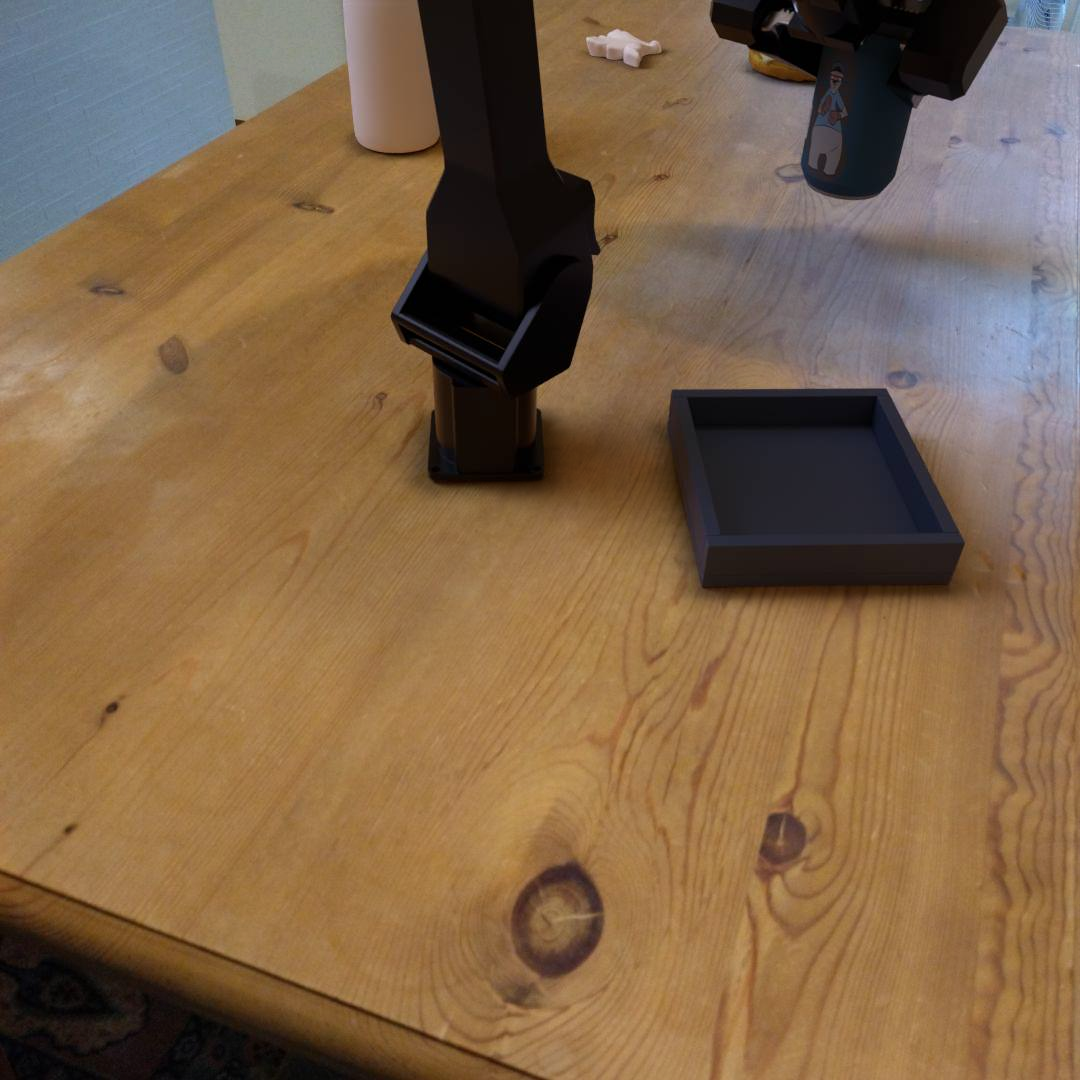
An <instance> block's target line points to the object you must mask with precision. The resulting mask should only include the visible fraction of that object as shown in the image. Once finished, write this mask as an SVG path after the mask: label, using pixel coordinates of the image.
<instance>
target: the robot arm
mask: <svg viewBox="0 0 1080 1080" xmlns="http://www.w3.org/2000/svg"><path fill="white" fill-rule="evenodd" d="M417 2H418V8H419V14H420V20H421V26H422V32H423V38H424V43H425V49H426V55H427V61H428V67H429V73H430V79H431V85H432V90H433V96H434V102H435V108H436V114H437V120H438V126H439V132H440V135H439V138H440V144H441V149H442V154H443V170H442V172H441V174H440V176H439V179H438V182H437V184H436V186H435V189H434V190H433V193H432V195H431V197H430V200H429V202H428V203H427V207H426V209H425V227H426V228H425V229H426V250H425V251H424V254H423V255H422V256H421V259H420V261H419V262H418V264H417V266H416V268H415V269H414V271H413V273H412V275H411V277H410V278H409V280H408V282H407V284H406V286H405V287H404V289H403V290H402V293H401V294H400V296H399V298H398V300H397V301H396V303H395V305H394V306H393V309H392V310H391V313H390V320H391V322H392V324H393V326H394V329H395V331H396V333H397V335H398V338H399V340H400V341H401V342H402V343H404V344H405V345H408V346H412V347H415V348H417V349H419V350H420V351H422V352H424V353H426V354H427V355H429V356H431V367H432V385H433V402H434V409H433V410H432V411H431V413H430V427H429V428H430V429H429V443H428V457H427V458H428V459H427V476H428V479H430V480H431V481H433V482H441V481H442V482H457V481H458V482H460V481H462V482H463V481H464V482H465V481H466V482H467V481H471V482H473V481H474V482H475V481H476V482H477V481H539V480H542V479H543V478H544V477H545V474H546V466H545V465H546V463H545V449H544V434H543V420H542V419H543V418H542V410H541V409H540V408H538V387H540V386H541V385H543V384H545V383H547V382H548V381H550V380H552V379H554V378H555V377H557V376H558V375H560V374H562V373H564V372H565V371H567V370H569V369H570V368H571V366H572V363H573V358H574V356H575V352H576V348H577V345H578V342H579V338H580V334H581V331H582V327H583V324H584V320H585V317H586V313H587V310H588V306H589V302H590V299H591V295H592V291H593V281H594V260H593V256H599V255H600V254H601V251H602V250H601V249H602V248H601V247H600V245H599V242H598V241H597V236H596V230H595V214H596V195H595V193H594V192H595V191H594V188H593V185H592V183H591V181H590V180H589V179H587V178H583V177H582V176H579V175H576V174H573V173H570V172H568V171H565V170H563V169H560V168H558V167H556V166H555V165H554V163H553V161H552V160H551V158H550V155H549V151H548V145H547V136H546V134H547V133H546V125H545V124H546V123H545V114H544V102H543V92H542V82H541V81H542V80H541V69H540V60H539V59H540V57H539V50H538V48H539V47H538V36H537V27H536V26H537V25H536V17H535V16H536V15H535V6H534V0H417ZM709 6H710V8H709V19H710V23H711V25H712V27H713V29H714V31H715V33H716V35H717V36H718V38H719V39H722V40H725V41H730V42H733V43H736V44H740V45H744V46H747V48H748V50H749V49H750V50H752V51H756V52H759V53H761V54H763V55H765V56H768V57H770V58H772V59H774V60H777V61H779V62H781V63H783V64H785V65H788V66H790V67H792V68H794V69H796V70H798V71H800V72H802V73H805V74H807V75H809V76H811V77H813V78H815V79H817V75H818V70H819V65H820V60H821V55H822V49H823V45H826V46H830V47H834V48H837V49H841V50H845V51H849V52H853V53H856V51H857V50H858V48H859V46H860V45H862V44H864V43H865V42H866V40H867V38H868V36H870V35H871V34H875V35H879V36H883V37H887V38H891V39H895V40H899V41H902V42H901V43H900V47H901V51H902V52H903V53H902V57H901V58H900V60H899V62H898V64H897V65H896V67H895V69H894V71H893V72H892V74H891V76H890V77H889V79H888V81H887V83H886V84H885V85H886V87H887V88H888V89H889V90H891V91H892V92H893V93H894V94H895V95H896V96H898V97H899V98H900V99H901V100H902V101H903V102H905V103H906V104H908V105H910V106H911V107H912V109H918V107H919V106H920V104H921V103H922V101H923V100H924V97H927V96H931V97H935V98H939V99H942V100H946V101H949V102H953V101H955V100H958V99H960V98H963V97H964V96H966V95H967V93H968V91H969V89H970V88H971V86H972V84H973V82H974V81H975V79H976V78H977V76H978V74H979V72H980V70H981V68H982V67H983V65H984V64H985V62H986V60H987V59H988V57H989V55H990V54H991V52H992V50H993V48H994V47H995V45H996V44H997V41H998V40H999V38H1000V36H1001V35H1002V33H1003V31H1004V30H1005V29H1006V26H1007V25H1008V23H1009V18H1008V9H1007V4H1006V1H1005V0H711V1H710V5H709Z"/></svg>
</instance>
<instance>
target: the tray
mask: <svg viewBox="0 0 1080 1080" xmlns="http://www.w3.org/2000/svg"><path fill="white" fill-rule="evenodd" d="M667 418H668V419H667V425H666V429H667V434H668V439H669V444H670V449H671V453H672V457H673V458H672V459H673V462H674V467H675V472H676V476H677V480H678V486H679V489H680V490H679V491H680V494H681V499H682V503H683V508H684V513H685V518H686V521H687V526H688V530H689V535H690V539H691V545H692V549H693V554H694V559H695V563H696V568H697V572H698V577H699V581H700V585H701V587H702V588H747V587H749V588H752V587H756V588H758V587H760V588H761V587H824V586H826V587H829V586H831V587H832V586H833V587H834V586H897V585H898V586H899V585H901V586H902V585H903V586H904V585H905V586H908V585H912V586H913V585H950V583H951V582H952V579H953V577H954V573H955V572H956V569H957V567H958V563H959V560H960V558H961V556H962V553H963V550H964V548H965V545H966V542H965V540H964V538H963V536H962V534H961V532H960V530H959V528H958V526H957V523H956V522H955V520H954V518H953V516H952V513H951V512H950V510H949V508H948V506H947V505H946V502H945V500H944V499H943V497H942V494H941V492H940V490H939V488H938V486H937V485H936V483H935V481H934V479H933V477H932V475H931V473H930V471H929V469H928V467H927V465H926V463H925V461H924V459H923V457H922V455H921V453H920V451H919V449H918V447H917V445H916V443H915V441H914V440H913V437H912V435H911V434H910V432H909V430H908V427H907V425H906V424H905V422H904V420H903V418H902V416H901V414H900V412H899V410H898V408H897V406H896V404H895V402H894V400H893V398H892V397H891V394H890V393H889V390H888V388H886V387H882V388H881V387H878V388H877V387H871V388H869V387H868V388H867V387H865V388H864V387H863V388H862V387H861V388H859V387H858V388H848V387H847V388H846V387H845V388H731V389H730V388H709V389H708V388H707V389H706V388H703V389H700V388H699V389H698V388H693V389H687V388H686V389H685V388H684V389H683V388H682V389H678V388H677V389H676V388H675V389H671V393H670V399H669V407H668V416H667Z"/></svg>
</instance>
